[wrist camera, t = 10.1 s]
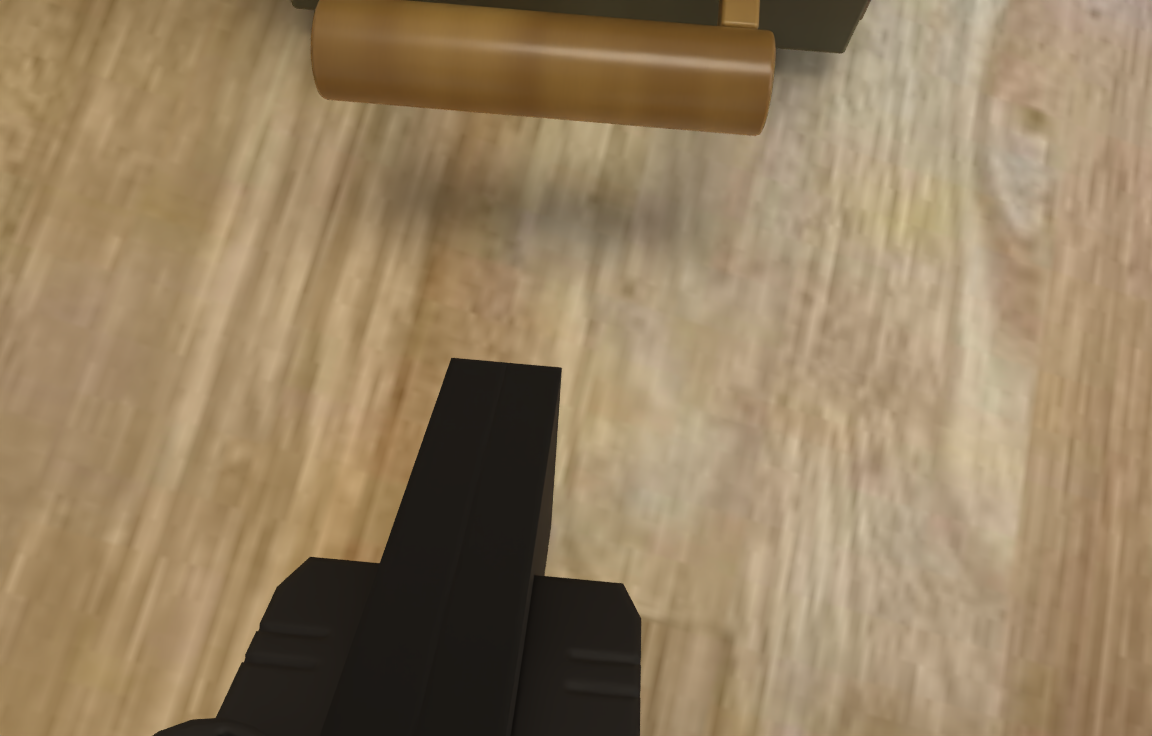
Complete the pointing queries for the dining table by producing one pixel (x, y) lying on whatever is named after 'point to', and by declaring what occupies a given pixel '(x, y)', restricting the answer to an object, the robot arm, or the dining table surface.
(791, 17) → the drawer
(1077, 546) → the dining table surface
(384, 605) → the robot arm
